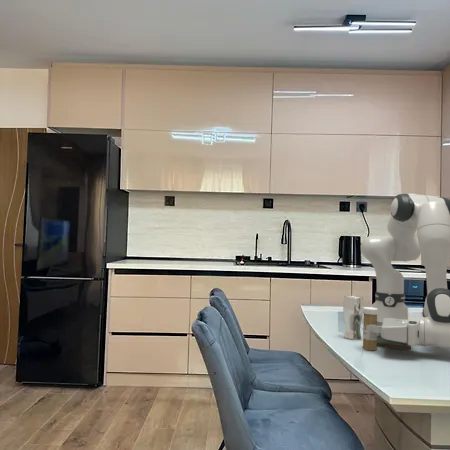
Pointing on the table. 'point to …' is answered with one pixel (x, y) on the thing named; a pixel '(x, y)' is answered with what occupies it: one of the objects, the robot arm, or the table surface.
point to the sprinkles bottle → (369, 336)
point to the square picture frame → (391, 343)
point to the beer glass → (352, 317)
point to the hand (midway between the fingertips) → (367, 325)
